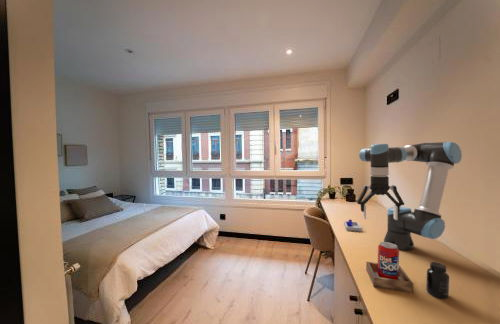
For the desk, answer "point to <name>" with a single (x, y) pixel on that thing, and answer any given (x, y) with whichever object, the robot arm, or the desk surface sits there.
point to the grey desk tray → (355, 227)
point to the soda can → (388, 261)
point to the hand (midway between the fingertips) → (379, 218)
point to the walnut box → (392, 284)
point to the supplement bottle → (437, 281)
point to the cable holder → (350, 223)
